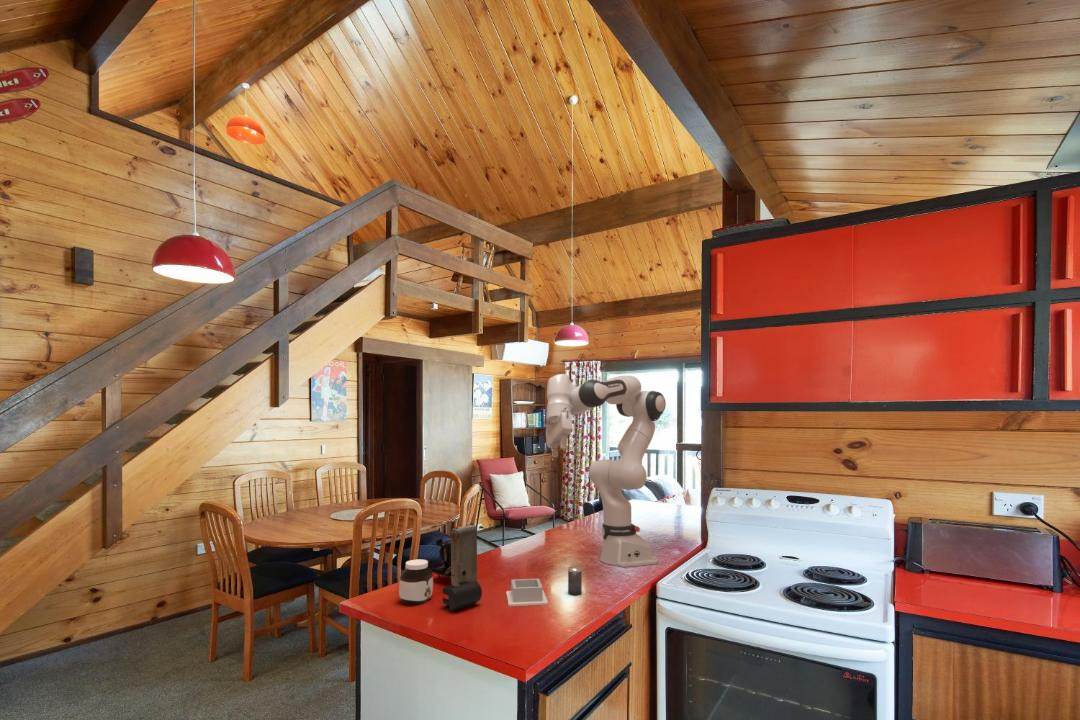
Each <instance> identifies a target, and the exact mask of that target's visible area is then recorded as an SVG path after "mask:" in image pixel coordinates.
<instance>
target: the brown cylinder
mask: <svg viewBox="0 0 1080 720" xmlns="http://www.w3.org/2000/svg"><path fill="white" fill-rule="evenodd" d="M582 570H583V568H582V567H581V566H580V565H579V566H577V565H571V566H568V567H567V591H568V592H567V594H568V595H569V596H571V595H572V596H573V597H578V595H579V596H582V595H583V588H582V587H583V586H582V585H583V584H582V583H583V582H582V578H583V577H582V576H583V575H582V572H583V571H582Z"/></svg>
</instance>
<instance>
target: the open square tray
mask: <svg viewBox="0 0 1080 720" xmlns="http://www.w3.org/2000/svg"><path fill="white" fill-rule="evenodd" d="M510 583H511V584H510V587H511V588H510V590H506V592H505V593H506V599H507V605H508V607H519V606H520V607H524V606H525V607H526V606H527V607H528V606H547V605H549V601H548V598H547V596H546V593H545V591H544V589H543V585H542V583H541V580H540V578H521V579H516V578H515V579H511V581H510Z"/></svg>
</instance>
